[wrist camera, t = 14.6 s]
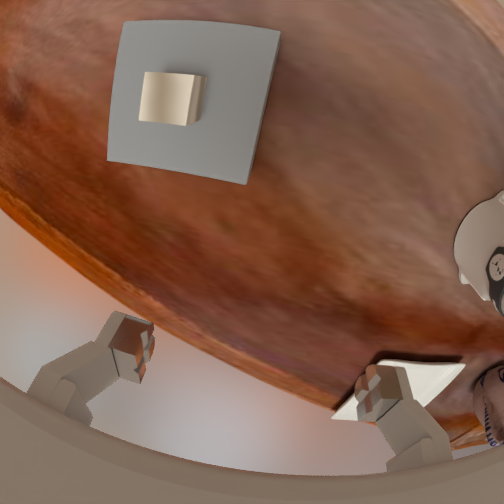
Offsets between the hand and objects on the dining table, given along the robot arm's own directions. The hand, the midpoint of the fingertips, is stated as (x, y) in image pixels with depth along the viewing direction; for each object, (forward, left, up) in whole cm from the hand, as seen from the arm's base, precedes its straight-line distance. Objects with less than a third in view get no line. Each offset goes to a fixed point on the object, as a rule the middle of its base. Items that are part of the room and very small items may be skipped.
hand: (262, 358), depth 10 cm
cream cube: (+12, -6, -25) cm, 28 cm away
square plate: (-43, +45, -32) cm, 70 cm away
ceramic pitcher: (-77, +40, -31) cm, 92 cm away
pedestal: (+12, -6, -31) cm, 34 cm away
